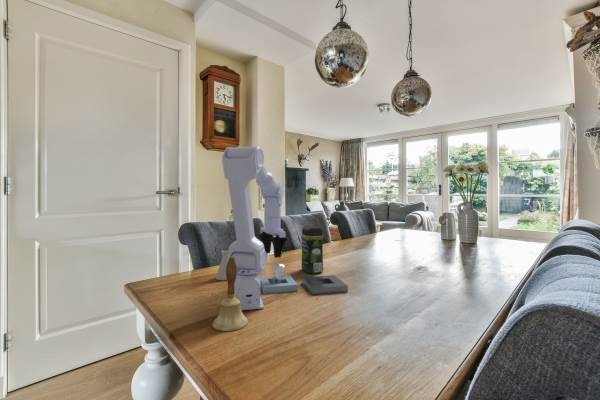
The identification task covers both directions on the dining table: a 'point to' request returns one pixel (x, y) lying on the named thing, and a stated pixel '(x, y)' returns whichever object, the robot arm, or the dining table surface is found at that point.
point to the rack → (278, 285)
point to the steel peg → (278, 273)
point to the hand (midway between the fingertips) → (272, 255)
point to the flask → (223, 266)
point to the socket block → (324, 284)
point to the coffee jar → (312, 249)
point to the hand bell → (230, 304)
